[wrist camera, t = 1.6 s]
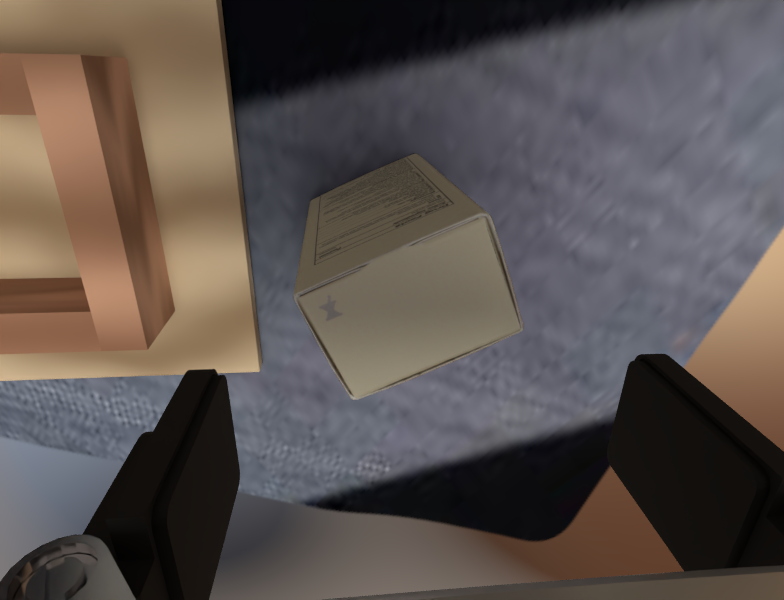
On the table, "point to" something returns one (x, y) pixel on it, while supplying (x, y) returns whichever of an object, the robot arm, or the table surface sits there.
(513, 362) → the table surface
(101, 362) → the socket stand
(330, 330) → the skincare box
